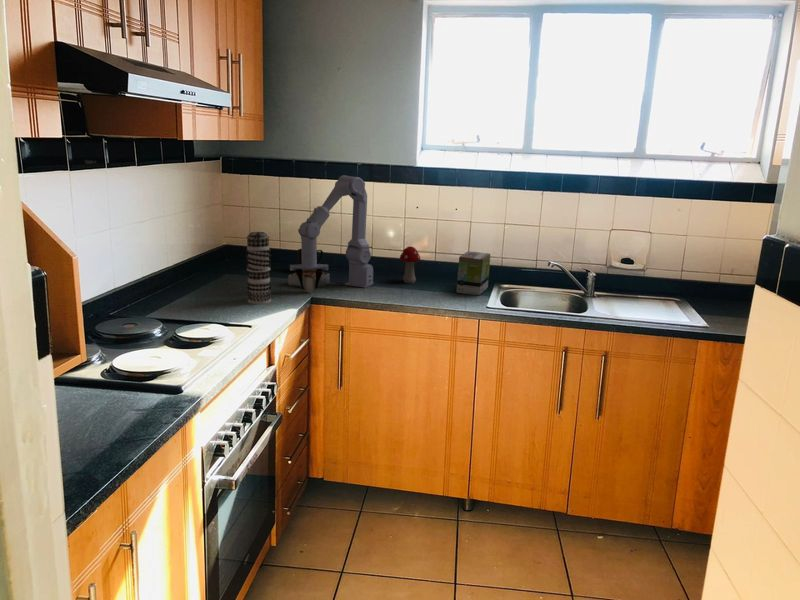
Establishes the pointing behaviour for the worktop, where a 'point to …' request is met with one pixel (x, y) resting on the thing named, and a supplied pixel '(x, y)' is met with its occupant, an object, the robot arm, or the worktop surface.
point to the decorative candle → (258, 268)
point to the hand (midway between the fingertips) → (309, 288)
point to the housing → (294, 278)
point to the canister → (309, 283)
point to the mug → (301, 256)
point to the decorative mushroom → (409, 263)
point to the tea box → (473, 273)
